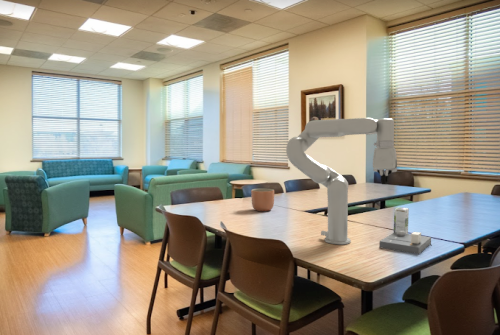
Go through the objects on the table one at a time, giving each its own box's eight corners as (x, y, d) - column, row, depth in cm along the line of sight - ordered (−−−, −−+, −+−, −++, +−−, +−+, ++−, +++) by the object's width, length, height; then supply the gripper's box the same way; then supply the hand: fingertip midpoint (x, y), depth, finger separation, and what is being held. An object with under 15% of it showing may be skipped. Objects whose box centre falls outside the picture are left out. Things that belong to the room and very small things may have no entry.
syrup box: (396, 233, 192) (397, 206, 191) (408, 235, 188) (408, 207, 188) (393, 235, 188) (393, 208, 187) (405, 237, 184) (405, 209, 183)
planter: (259, 207, 277) (259, 188, 276) (278, 209, 267) (278, 189, 267) (246, 210, 264) (246, 190, 263) (266, 213, 254) (266, 191, 253)
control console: (379, 247, 166) (379, 236, 166) (394, 237, 183) (394, 228, 183) (418, 254, 156) (418, 242, 155) (431, 243, 172) (431, 233, 172)
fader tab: (410, 242, 162) (411, 233, 161) (414, 240, 165) (414, 231, 165) (418, 243, 160) (418, 234, 159) (421, 241, 164) (421, 232, 163)
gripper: (366, 145, 170) (366, 183, 171) (399, 144, 160) (398, 185, 162) (372, 145, 176) (372, 182, 177) (404, 144, 166) (403, 184, 167)
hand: (384, 183), depth 169 cm, fingers closed
